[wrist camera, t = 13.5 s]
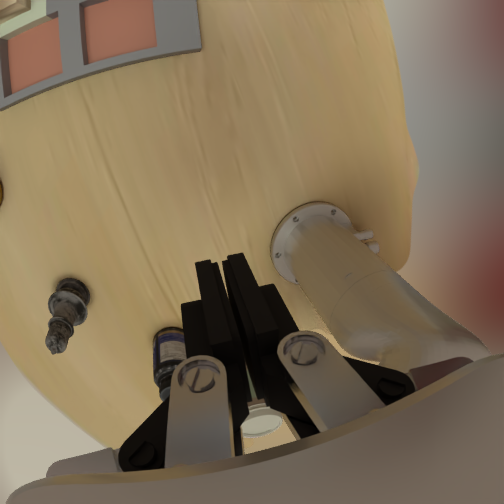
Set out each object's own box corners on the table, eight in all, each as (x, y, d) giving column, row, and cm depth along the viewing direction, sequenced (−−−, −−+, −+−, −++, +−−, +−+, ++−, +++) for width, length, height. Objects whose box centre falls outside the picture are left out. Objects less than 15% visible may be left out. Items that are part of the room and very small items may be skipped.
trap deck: (187, -69, 20) (191, -92, 15) (199, 51, 29) (204, 42, 23) (-3, -9, 16) (-24, -19, 11) (2, 110, 25) (-23, 115, 19)
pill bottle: (176, 358, 48) (182, 413, 39) (145, 343, 45) (145, 399, 36) (199, 336, 47) (209, 392, 38) (167, 319, 44) (170, 376, 35)
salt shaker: (47, 292, 37) (23, 351, 27) (68, 268, 36) (43, 326, 26) (77, 316, 40) (61, 377, 30) (99, 295, 39) (85, 357, 29)
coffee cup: (210, 379, 53) (222, 434, 42) (241, 351, 51) (259, 408, 41) (244, 391, 57) (260, 442, 46) (275, 366, 55) (296, 418, 45)
